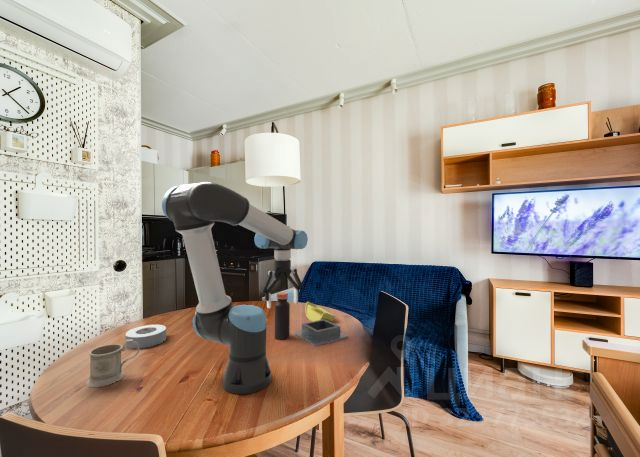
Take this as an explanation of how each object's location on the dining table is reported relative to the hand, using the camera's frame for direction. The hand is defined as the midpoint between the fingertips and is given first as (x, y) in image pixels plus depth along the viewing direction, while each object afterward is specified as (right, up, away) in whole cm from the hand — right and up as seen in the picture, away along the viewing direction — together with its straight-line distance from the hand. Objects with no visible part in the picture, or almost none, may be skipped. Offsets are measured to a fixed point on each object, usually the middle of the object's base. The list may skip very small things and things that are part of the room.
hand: (282, 305), depth 129 cm
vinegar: (0, -15, 0) cm, 15 cm away
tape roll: (-59, -15, -6) cm, 61 cm away
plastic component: (+16, -15, +28) cm, 36 cm away
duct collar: (+17, -15, +2) cm, 23 cm away
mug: (-51, -14, -37) cm, 64 cm away
